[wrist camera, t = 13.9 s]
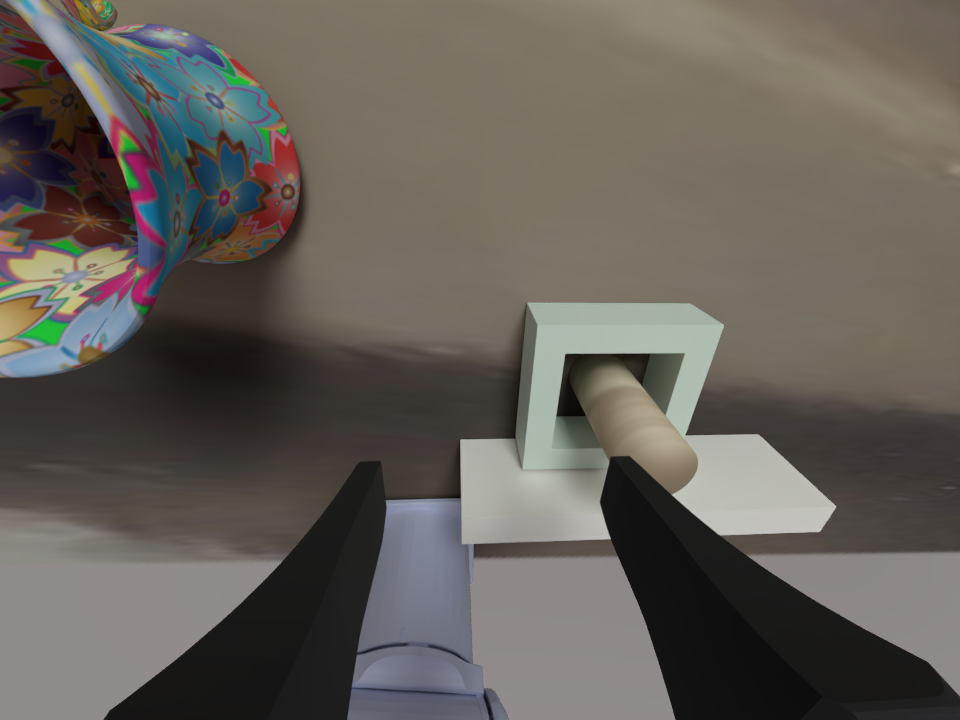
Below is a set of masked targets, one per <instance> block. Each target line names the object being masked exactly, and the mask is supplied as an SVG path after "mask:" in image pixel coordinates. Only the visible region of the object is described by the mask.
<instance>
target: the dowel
mask: <svg viewBox="0 0 960 720" xmlns="http://www.w3.org/2000/svg"><path fill="white" fill-rule="evenodd" d="M569 381H570V384H571V386H572V388H573V390H574V392H575V394H576V396H577V398H578V400H579V402H580V404H581V406H582V408H583V410H584V412H585V414H586V416H587V418H588V420H589V422H590V424H591V426H592V428H593V430H594V432H595V434H596V436H597V438H598V440H599V442H600V444H601V446H602V448H603V450H604V452H605V454H606V456H607V458H608V460H609V462H610V458H611V456H630V457H631V458H632V459H634V460H635V461H636V462H637V463H638V464H639V465H640V466H641V467H642V468H643V469H644V470H645V471H647V472H648V473H649V474H650V475H651V476H652V477H653V478H654V479H655V480H656V481H657V482H658V483H659V484H660V485H662V486H663V487H664V488H665V489H666V490H667V491H668V492H669V493H670V494H671V495H672V494H674V493H676V492H678V491H679V490H681V489H682V488H684V487H685V486H686V485H687V484H688V483H689V482H690V481H691V480H692V478H693V477H694V475H695V473H696V471H697V468H698V458H697V455H696V453H695V452H694V451H693V449H692V448H691V447H690V446H689V444H688V443H687V442H686V441H685V439H684V438H683V437H682V436H681V434H680V433H679V432H678V431H677V429H676V428H675V427H674V426H673V424H672V423H671V422H670V421H669V419H668V418H667V417H666V416H665V414H664V413H663V412H662V411H661V409H660V408H659V407H658V406H657V404H656V403H655V402H654V401H653V399H652V398H651V397H650V396H649V395H648V393H647V392H646V391H645V390H644V388H643V387H642V386H641V385H640V383H639V382H638V381H637V380H636V378H635V377H634V376H633V375H632V373H631V372H630V371H629V370H628V368H627V367H626V366H625V365H624V363H623V362H622V361H621V360H620V358H619V357H618V356H617V355H616V354H583V355H582V356H580V357H579V358H578V359H577V360H576V361H575V362H574V363H573V365H572V367H571V369H570V372H569Z"/></svg>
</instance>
